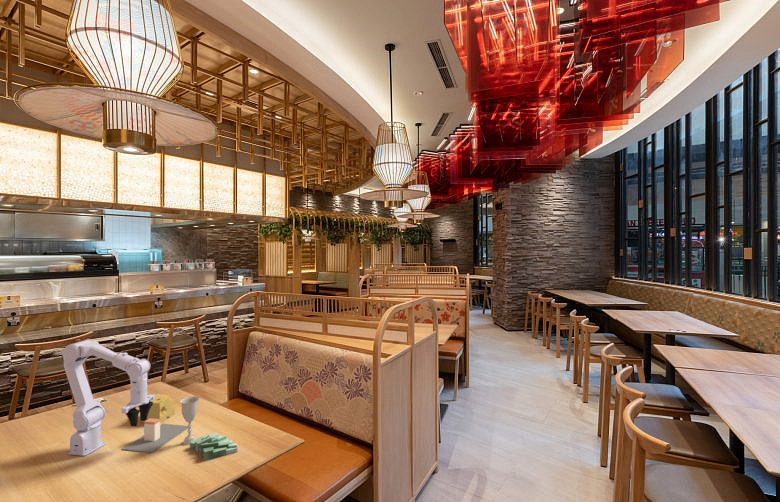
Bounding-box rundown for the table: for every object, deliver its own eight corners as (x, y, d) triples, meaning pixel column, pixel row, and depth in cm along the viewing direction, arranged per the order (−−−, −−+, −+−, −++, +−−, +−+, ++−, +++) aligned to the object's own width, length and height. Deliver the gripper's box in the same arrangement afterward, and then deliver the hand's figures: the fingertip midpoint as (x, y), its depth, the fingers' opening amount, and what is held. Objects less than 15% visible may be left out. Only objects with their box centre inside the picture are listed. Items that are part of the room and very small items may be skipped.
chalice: (190, 447, 152) (190, 404, 152) (176, 445, 154) (176, 402, 153) (202, 438, 159) (202, 397, 159) (188, 436, 161) (189, 395, 161)
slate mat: (152, 452, 148) (152, 451, 148) (121, 449, 150) (121, 448, 150) (189, 426, 170) (189, 426, 170) (162, 424, 172) (162, 423, 172)
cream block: (154, 441, 156) (154, 422, 156) (144, 440, 157) (144, 421, 157) (160, 437, 159) (160, 419, 159) (149, 436, 160) (149, 418, 160)
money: (180, 454, 147) (180, 442, 147) (213, 436, 162) (213, 425, 162) (218, 466, 140) (218, 453, 140) (249, 445, 155) (249, 433, 155)
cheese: (175, 414, 183) (175, 394, 182) (159, 424, 172) (159, 403, 172) (155, 413, 184) (155, 393, 184) (138, 423, 173) (138, 402, 173)
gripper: (132, 397, 143) (132, 432, 143) (161, 384, 158) (161, 416, 158) (116, 396, 144) (116, 431, 144) (146, 383, 159) (146, 414, 159)
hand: (138, 423), depth 151 cm, fingers open, 4 cm apart
